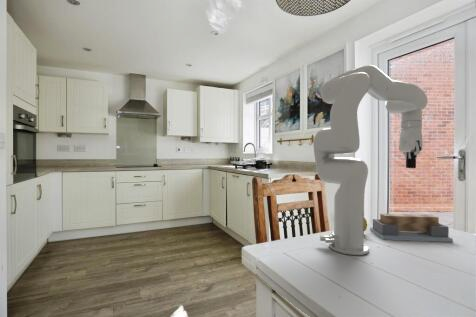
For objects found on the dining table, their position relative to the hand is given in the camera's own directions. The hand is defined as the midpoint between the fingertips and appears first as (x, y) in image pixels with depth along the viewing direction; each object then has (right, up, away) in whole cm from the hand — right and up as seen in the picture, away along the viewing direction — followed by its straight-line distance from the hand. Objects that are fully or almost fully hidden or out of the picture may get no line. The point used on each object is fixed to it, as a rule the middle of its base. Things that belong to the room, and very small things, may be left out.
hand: (410, 168), depth 109 cm
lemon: (-25, -27, -5) cm, 37 cm away
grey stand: (-6, -27, -7) cm, 29 cm away
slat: (-6, -25, -7) cm, 27 cm away
